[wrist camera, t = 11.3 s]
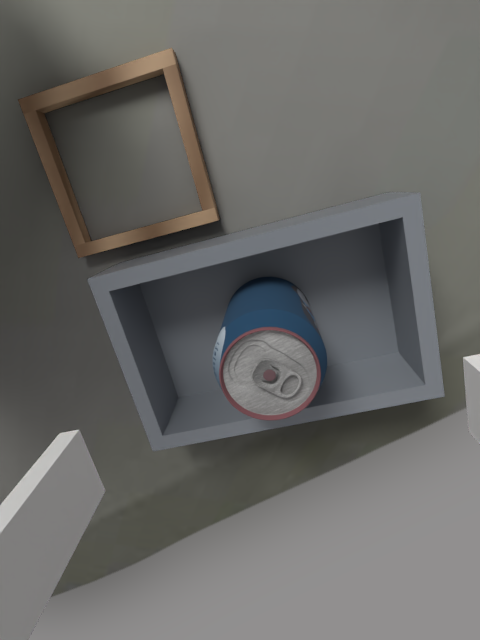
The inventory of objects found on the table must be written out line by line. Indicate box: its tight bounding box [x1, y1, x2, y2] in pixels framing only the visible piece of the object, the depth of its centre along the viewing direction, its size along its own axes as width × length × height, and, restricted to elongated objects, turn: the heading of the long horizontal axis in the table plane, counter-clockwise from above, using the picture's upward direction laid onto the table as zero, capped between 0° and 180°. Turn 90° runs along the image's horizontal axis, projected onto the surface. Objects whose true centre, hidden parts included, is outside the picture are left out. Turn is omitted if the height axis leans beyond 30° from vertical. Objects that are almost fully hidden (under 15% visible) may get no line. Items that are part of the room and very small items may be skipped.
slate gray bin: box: [87, 192, 445, 451], centre depth 31 cm, size 22×14×7 cm, turn 105°
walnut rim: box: [18, 48, 220, 258], centre depth 30 cm, size 12×12×1 cm
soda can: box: [213, 277, 327, 421], centre depth 28 cm, size 7×7×12 cm
